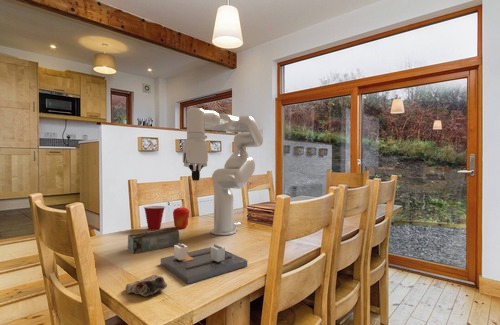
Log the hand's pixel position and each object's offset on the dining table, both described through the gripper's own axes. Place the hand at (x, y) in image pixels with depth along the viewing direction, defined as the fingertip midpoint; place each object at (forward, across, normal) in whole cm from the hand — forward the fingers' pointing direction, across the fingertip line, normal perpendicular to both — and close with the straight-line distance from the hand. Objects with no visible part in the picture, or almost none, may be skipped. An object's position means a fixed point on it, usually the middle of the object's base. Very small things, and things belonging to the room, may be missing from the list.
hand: (195, 180), depth 120 cm
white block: (+25, +7, +28) cm, 38 cm away
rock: (+28, +32, +31) cm, 52 cm away
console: (+27, +10, +24) cm, 38 cm away
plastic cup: (+27, +4, -36) cm, 45 cm away
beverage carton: (+28, +16, -6) cm, 32 cm away
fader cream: (+25, +16, +19) cm, 35 cm away
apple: (+27, -8, -30) cm, 41 cm away
